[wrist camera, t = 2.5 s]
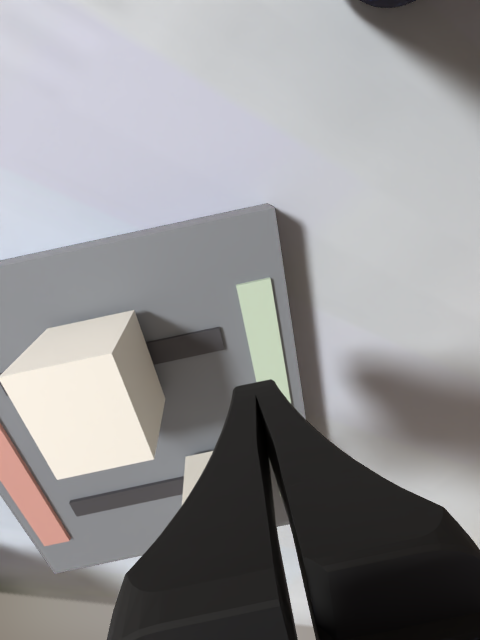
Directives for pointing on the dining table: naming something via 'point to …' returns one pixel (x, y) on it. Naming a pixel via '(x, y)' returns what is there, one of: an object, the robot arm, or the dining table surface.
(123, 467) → the switch panel
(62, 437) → the switch
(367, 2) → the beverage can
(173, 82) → the dining table surface
